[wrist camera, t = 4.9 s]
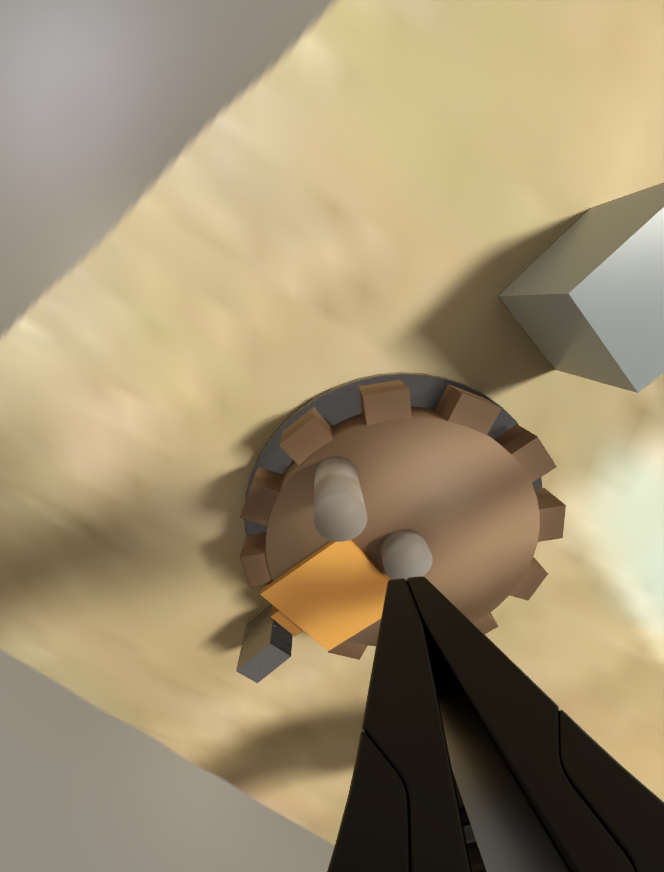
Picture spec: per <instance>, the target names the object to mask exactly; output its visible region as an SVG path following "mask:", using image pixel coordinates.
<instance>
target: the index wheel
mask: <svg viewBox="0 0 664 872" xmlns="http://www.w3.org/2000/svg"><path fill="white" fill-rule="evenodd" d="M358 387H359V394H360V401H361V409H362V413H361V414H358V415H355V416H352V417H350V418H347V419H345V420H343V421H341V422H339V423H337V424H335V425H333V426H330V425H329V423H328V422H327V421H326V420H325V419H324V418H323V417H322V415H321V414H320V413H319V412H318V411H317V410H316V409H315V407H313V408H311V409H310V410H309V411H308V412H306V413H305V414H304V415H303V416H301V417H300V418H299V419H298V420H296V421H295V422H294V423H293V424H292V425H290V426H289V427H288V428H287V429H285V430H284V431H283V433H282V437H281V441H280V446H281V447H282V449H283V450H284V451H285V452H286V453H287V454H288V455H289V456H290V457H291V458H292V459H293V460H292V462H291V463H290V465H289V466H288V468H287V469H286V471H285V473H284V474H280V473H277V472H274V471H270V470H267V469H264V468H261V467H258V468H257V471H256V473H255V476H254V479H253V482H252V485H251V488H250V491H249V494H248V497H247V499H246V502H245V505H244V508H243V511H242V514H241V517H240V518H243V519H246V520H250V521H253V522H256V523H260V524H263V525H267V532H263V533H257V534H251V535H247V536H246V539H245V542H244V545H243V549H242V552H241V555H240V559H241V562H242V565H243V568H244V571H245V574H246V577H247V581H248V584H249V587H253V586H260V585H266V584H269V585H267V586H266V587H265V588H263V589H262V590H261V592H260V595H261V596H263V597H264V598H265V599H266V600H267V601H269V602H270V603H271V604H272V610H271V618H273V619H274V620H275V621H276V622H277V623H279V624H280V625H281V626H282V627H284V628H285V629H286V630H287V631H289V632H290V633H291V634H292V635H293V636H296V635H297V634H299V633H300V632H302V631H305V632H306V633H307V634H308V635H309V636H311V637H312V638H313V639H314V640H315V641H317V642H318V643H319V644H320V645H321V646H323V647H324V648H325V649H326V650H327V651H328V652H329V653H333V654H337V655H342V656H346V657H350V658H355V659H359V660H360V658H361V656H362V654H363V653H364V651H365V649H366V647H367V646H368V645H370V646H376V645H377V639H378V634H379V628H380V622H381V617H382V611H383V605H384V600H385V594H386V589H387V583H388V581H389V580H391V579H400V578H404V579H405V580H407V578H409V577H418V576H423V577H425V578H427V579H428V580H429V581H430V582H431V583H432V584H433V585H434V586H435V587H436V588H437V589H438V590H439V591H440V592H441V593H442V594H443V595H444V596H445V597H446V598H447V599H448V600H449V601H450V602H451V603H452V604H453V605H454V606H455V607H456V608H458V609H459V610H460V611H461V612H462V613H463V614H464V615H465V616H466V617H467V618H468V619H469V620H470V621H471V622H472V623H473V624H474V625H475V626H476V627H477V628H478V629H479V630H480V631H481V632H482V633H483V634H486V633H488V632H489V631H491V630H493V629H495V628H497V627H498V625H497V623H496V621H495V620H494V618H493V616H492V614H491V611H493V610H494V609H495V608H496V607H498V606H499V605H500V604H501V603H502V602H503V601H504V600H505V599H506V598H507V597H508V596H509V595H511V596H514V597H518V598H521V599H525V600H529V599H530V598H531V596H532V595H533V593H534V592H535V591H536V589H537V588H538V587H539V585H540V584H541V583H542V581H543V580H544V579H545V577H546V576H547V575H548V573H547V572H546V571H545V570H544V569H543V567H542V566H541V565H540V564H539V563H538V561H537V560H536V559H535V558H534V557H533V556H534V552H535V549H536V546H537V542H540V541H546V540H553V539H559V538H563V528H564V517H565V507H566V505H565V504H563V503H562V502H561V501H560V500H558V499H557V498H556V497H555V496H554V495H552V494H551V493H550V492H549V491H547V490H546V489H545V488H538V489H534V488H533V485H532V482H534V481H536V480H537V479H539V478H540V477H542V476H543V475H545V474H546V473H548V472H549V471H551V470H553V469H554V468H556V465H555V463H554V462H553V460H552V459H551V457H550V456H549V454H548V452H547V451H546V449H545V448H544V446H543V445H542V443H541V441H540V440H539V438H538V437H537V436H535V435H534V434H532V433H530V432H529V431H527V430H526V429H524V428H522V427H521V426H519V425H517V424H516V425H515V426H513V427H512V428H510V429H509V430H507V431H506V432H505V433H503V434H502V435H500V436H499V437H497V438H496V439H492V438H491V437H490V436H489V435H487V434H488V432H489V430H490V429H491V427H492V425H493V423H494V421H495V420H496V418H497V416H498V414H499V413H500V411H501V409H502V408H500V407H499V406H497V405H495V404H493V403H492V402H490V401H488V400H486V399H485V398H483V397H480V396H477V395H475V394H472V393H470V392H467V391H465V390H462V389H459V388H457V387H454V386H452V385H449V384H448V385H447V387H446V389H445V391H444V393H443V395H442V397H441V399H440V401H439V403H438V405H437V407H436V409H430V408H423V407H411V404H410V392H409V388H408V387H407V386H406V385H405V384H404V383H403V382H402V381H401V380H394V381H388V382H382V383H376V384H370V385H364V386H358Z"/></svg>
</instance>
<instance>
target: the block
mask: <svg viewBox="0 0 664 872" xmlns="http://www.w3.org/2000/svg"><path fill="white" fill-rule="evenodd" d="M498 297H499V298H500V299H501V301H502V302H503V303H504V305H505V306H506V307H507V308H508V310H509V311H510V312H511V314H512V315H513V316H514V317H515V319H516V320H517V321H518V323H519V324H520V325H521V326H522V328H523V329H524V330H525V332H526V333H527V334H528V335H529V337H530V338H531V339H532V341H533V342H534V343H535V344H536V346H537V347H538V348H539V350H540V351H541V352H542V353H543V355H544V356H545V357H546V359H547V360H548V361H549V362H550V364H551V365H552V366H553V368H554V369H555V370H558V371H562V372H565V373H569V374H573V375H576V376H580V377H583V378H587V379H590V380H594V381H598V382H601V383H605V384H608V385H612V386H615V387H619V388H623V389H626V390H630V391H633V392H637V393H638V392H640V391H641V390H642V389H644V388H645V387H646V386H647V385H649V384H650V383H651V382H652V381H654V380H655V379H656V378H657V377H659V376H660V375H661V374H663V373H664V183H661V184H658V185H656V186H653V187H650V188H647V189H644V190H641V191H638V192H635V193H632V194H630V195H627V196H624V197H621V198H618V199H615V200H612V201H609V202H606V203H604V204H601V205H598V206H595V207H592V208H590V209H589V210H588V211H586V212H585V213H584V214H583V215H582V216H581V217H580V218H579V219H578V220H577V221H576V222H575V223H574V224H573V225H572V226H571V227H570V228H569V229H568V230H567V231H566V232H565V233H563V234H562V235H561V236H560V237H559V238H558V239H557V240H556V241H555V242H554V243H553V244H552V245H551V246H550V247H549V248H548V249H547V250H546V251H545V252H544V253H543V254H542V255H540V256H539V257H538V258H537V259H536V260H535V261H534V262H533V263H532V264H531V265H530V266H529V267H528V268H527V269H526V270H525V271H524V272H523V273H522V274H521V275H520V276H519V277H517V278H516V279H515V280H514V281H513V282H512V283H511V284H510V285H509V286H508V287H507V288H506V289H505V290H504V291H503V292H502V293H501V294H500V295H499V296H498Z"/></svg>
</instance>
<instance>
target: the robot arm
mask: <svg viewBox="0 0 664 872" xmlns="http://www.w3.org/2000/svg"><path fill="white" fill-rule="evenodd" d="M327 872H664V802H663V801H662V800H661V799H659V798H658V797H657V796H656V795H655V794H654V793H653V792H651V791H650V790H649V789H648V788H647V787H646V786H644V785H643V784H642V783H641V782H640V781H639V780H638V779H636V778H635V777H634V776H633V775H632V774H631V773H630V772H628V771H627V770H626V769H625V768H624V767H623V766H621V765H620V764H619V763H618V762H617V761H616V760H615V759H614V758H613V757H612V756H611V755H610V754H608V753H607V752H606V751H605V750H604V749H603V748H602V747H601V746H600V745H599V744H598V743H597V742H596V741H594V740H593V739H592V738H591V737H590V736H589V735H588V734H587V733H586V732H585V731H584V730H583V729H582V728H581V727H580V726H579V725H578V724H577V723H575V722H574V721H573V720H572V719H571V718H570V717H569V716H568V715H567V714H566V713H565V712H564V711H563V710H560V711H559V707H558V705H557V704H556V703H555V702H554V701H553V700H552V699H551V698H549V697H548V696H547V695H546V694H545V693H544V692H543V691H542V690H541V689H540V688H539V687H538V686H537V685H536V684H535V683H534V682H533V681H532V680H531V679H530V678H529V677H528V676H527V675H526V674H525V673H524V672H523V671H522V670H521V669H520V668H518V667H517V666H516V665H515V664H514V663H513V662H512V661H511V660H510V659H509V658H508V657H507V656H506V655H505V654H504V653H503V652H502V651H501V650H500V649H499V648H498V647H497V646H496V645H495V644H494V643H493V642H492V641H491V640H490V639H489V638H487V637H486V636H485V635H484V634H483V633H482V632H481V631H480V630H479V629H478V628H477V627H476V626H475V625H474V624H473V623H472V622H471V621H470V620H469V619H468V618H467V617H466V616H465V615H464V614H463V613H462V612H461V611H460V610H459V609H458V608H456V607H455V606H454V605H453V604H452V603H451V602H450V601H449V600H448V599H447V598H446V597H445V596H444V595H443V594H442V593H441V592H440V591H439V590H438V589H437V588H436V587H435V586H434V585H433V584H432V583H431V582H430V581H429V580H428V579H427V578H425V577H423V576H418V577H409V578H407V580H405V579H404V578H400V579H391V580H389V581H388V583H387V589H386V594H385V600H384V605H383V611H382V617H381V622H380V628H379V634H378V639H377V645H376V651H375V656H374V662H373V668H372V673H371V679H370V684H369V690H368V696H367V701H366V707H365V713H364V718H363V724H362V732H361V734H360V739H359V745H358V751H357V756H356V761H355V766H354V771H353V776H352V780H351V785H350V790H349V795H348V798H347V802H346V806H345V810H344V814H343V817H342V821H341V825H340V829H339V833H338V836H337V840H336V844H335V847H334V851H333V854H332V857H331V861H330V864H329V868H328V871H327Z"/></svg>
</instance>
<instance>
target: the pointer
mask: <svg viewBox="0 0 664 872" xmlns="http://www.w3.org/2000/svg"><path fill="white" fill-rule="evenodd" d="M271 610H272V605H270V606H269V607H268V608H267V609H266V610H265V611H263V612H262V613H261V614H260V615H259V616H258V617H257V618H255V619H254V620H253V621H252V622H251V623H250V624H248V625H247V626H246V629H245V633H244V638H243V642H242V647H241V651H240V656H239V661H238V665H237V670H236V671H237V672H239V673H240V674H242V675H244V676H246V677H247V678H249V679H251V680H253V681H254V682H256V683H258V682H259V681H261V680H262V679H263V678H264V677H266V676H267V675H268V674H270V673H271V672H272V671H273V670H275V669H276V668H277V667H278V666H280V665H281V664H282V663H283V662H285V661H286V660H287V659H288V658H290V657H291V648H292V634H291V633H290V632H289V631H287V630H286V629H285V628H284V627H282V626H281V625H280V624H279V623H277V622H276V621H275V620H274V619H273V618H271Z"/></svg>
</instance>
